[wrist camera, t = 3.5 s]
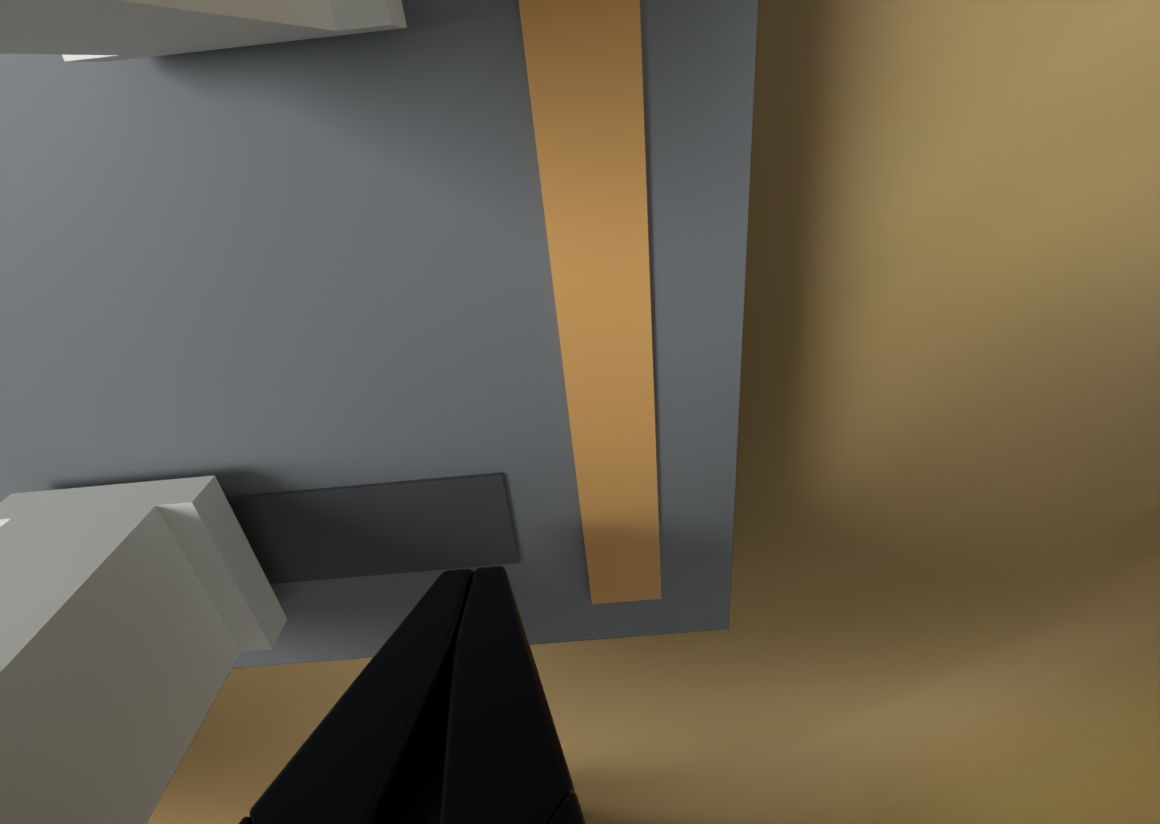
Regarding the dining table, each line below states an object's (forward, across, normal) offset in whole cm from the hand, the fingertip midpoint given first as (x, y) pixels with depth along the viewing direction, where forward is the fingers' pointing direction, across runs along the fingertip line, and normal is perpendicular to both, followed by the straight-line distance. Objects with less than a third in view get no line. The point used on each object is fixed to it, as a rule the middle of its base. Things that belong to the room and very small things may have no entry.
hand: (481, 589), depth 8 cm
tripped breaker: (+1, +5, 0) cm, 5 cm away
